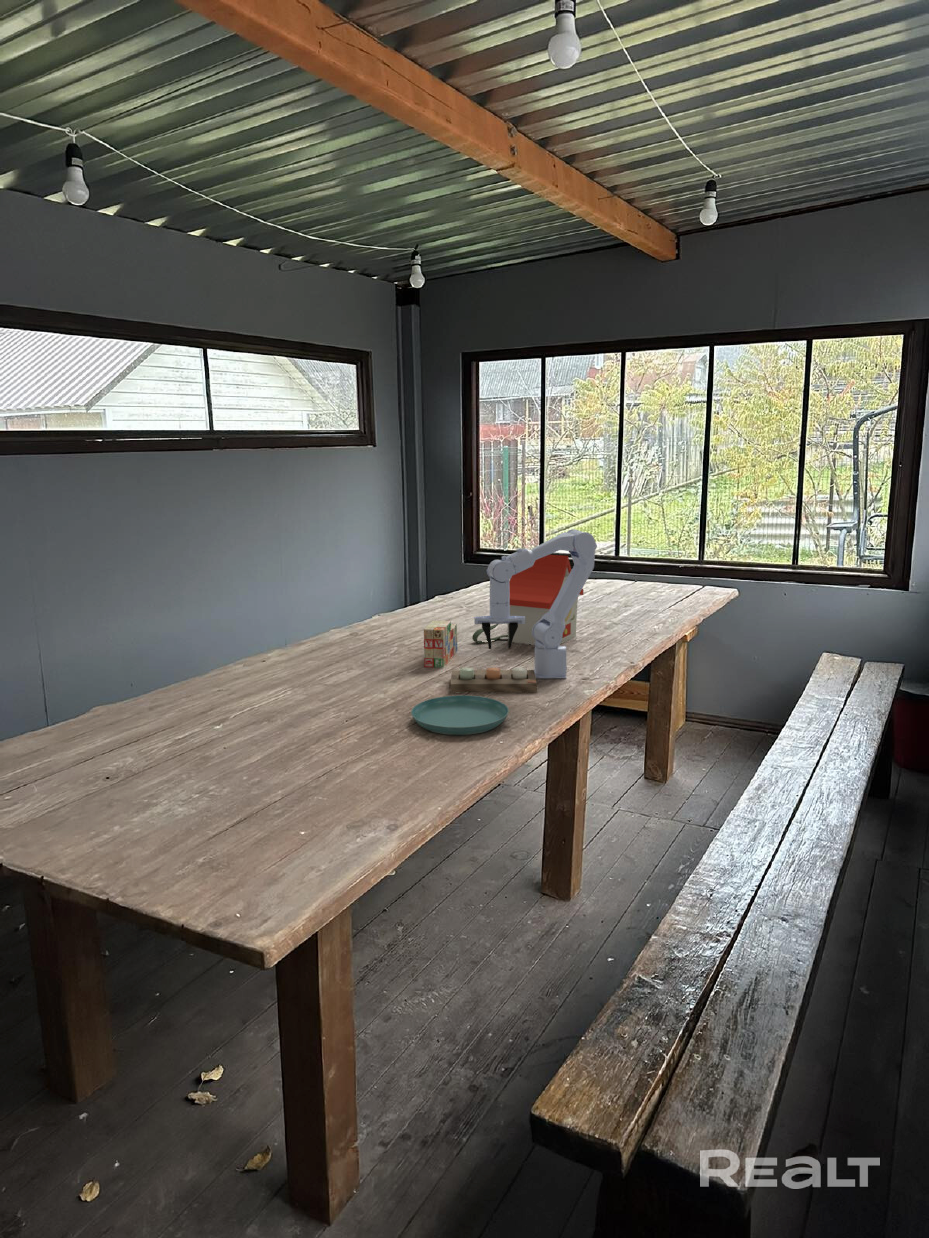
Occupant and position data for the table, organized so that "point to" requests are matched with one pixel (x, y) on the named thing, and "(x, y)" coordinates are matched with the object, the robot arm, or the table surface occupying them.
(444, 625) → the stack of blocks
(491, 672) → the terracotta button
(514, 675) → the cream button
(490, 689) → the panel
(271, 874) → the table surface
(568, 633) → the birdhouse
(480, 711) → the saucer
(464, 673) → the sage button
